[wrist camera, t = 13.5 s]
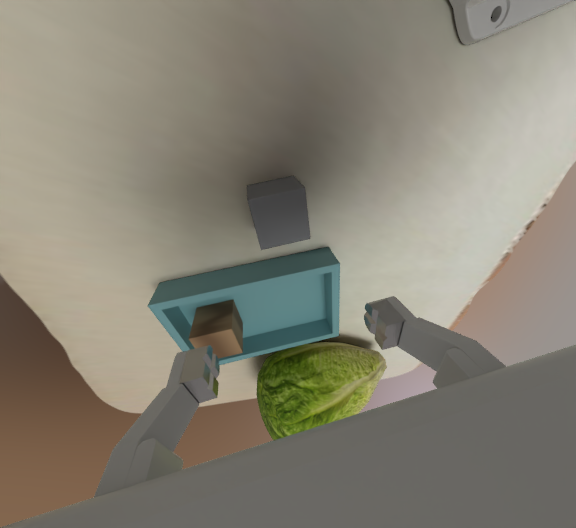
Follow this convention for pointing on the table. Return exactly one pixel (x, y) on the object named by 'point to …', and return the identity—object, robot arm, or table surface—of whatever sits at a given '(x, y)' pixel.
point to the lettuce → (316, 385)
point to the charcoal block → (279, 211)
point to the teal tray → (260, 301)
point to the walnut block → (218, 328)
